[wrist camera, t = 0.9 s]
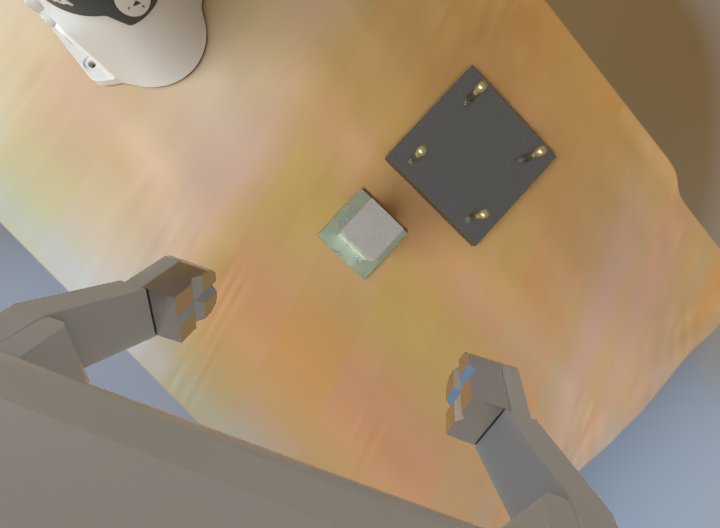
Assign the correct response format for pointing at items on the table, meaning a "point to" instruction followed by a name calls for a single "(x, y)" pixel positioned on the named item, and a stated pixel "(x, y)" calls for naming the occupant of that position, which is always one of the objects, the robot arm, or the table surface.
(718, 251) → the table surface
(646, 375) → the table surface
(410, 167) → the mounting plate
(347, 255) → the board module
